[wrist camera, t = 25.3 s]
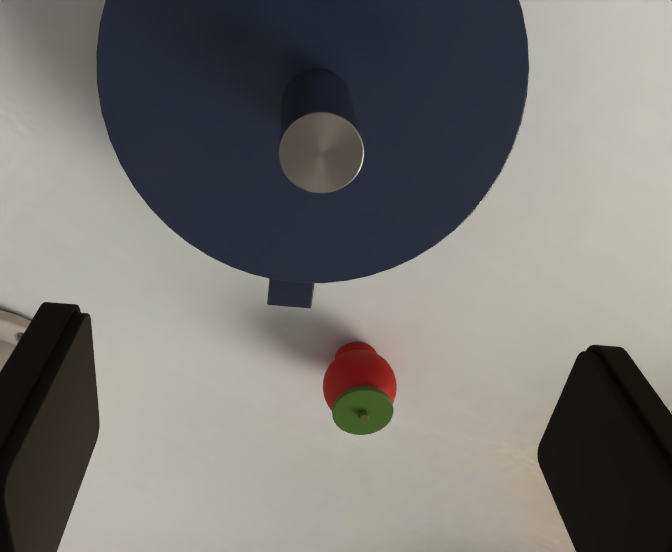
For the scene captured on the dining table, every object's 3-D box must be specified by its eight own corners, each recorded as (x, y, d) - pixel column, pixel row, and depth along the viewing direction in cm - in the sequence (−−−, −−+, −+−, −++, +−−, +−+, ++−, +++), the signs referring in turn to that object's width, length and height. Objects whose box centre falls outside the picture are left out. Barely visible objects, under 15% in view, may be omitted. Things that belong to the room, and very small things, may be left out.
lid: (119, 259, 32) (77, 347, 26) (82, -187, 22) (-1, -216, 16) (469, 281, 34) (508, 369, 27) (575, -120, 24) (670, -123, 18)
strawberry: (317, 382, 44) (320, 443, 39) (326, 328, 41) (330, 386, 37) (383, 387, 44) (394, 448, 40) (396, 333, 42) (409, 391, 37)
